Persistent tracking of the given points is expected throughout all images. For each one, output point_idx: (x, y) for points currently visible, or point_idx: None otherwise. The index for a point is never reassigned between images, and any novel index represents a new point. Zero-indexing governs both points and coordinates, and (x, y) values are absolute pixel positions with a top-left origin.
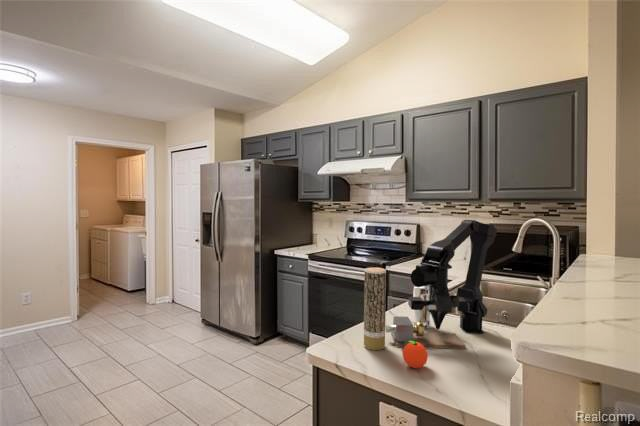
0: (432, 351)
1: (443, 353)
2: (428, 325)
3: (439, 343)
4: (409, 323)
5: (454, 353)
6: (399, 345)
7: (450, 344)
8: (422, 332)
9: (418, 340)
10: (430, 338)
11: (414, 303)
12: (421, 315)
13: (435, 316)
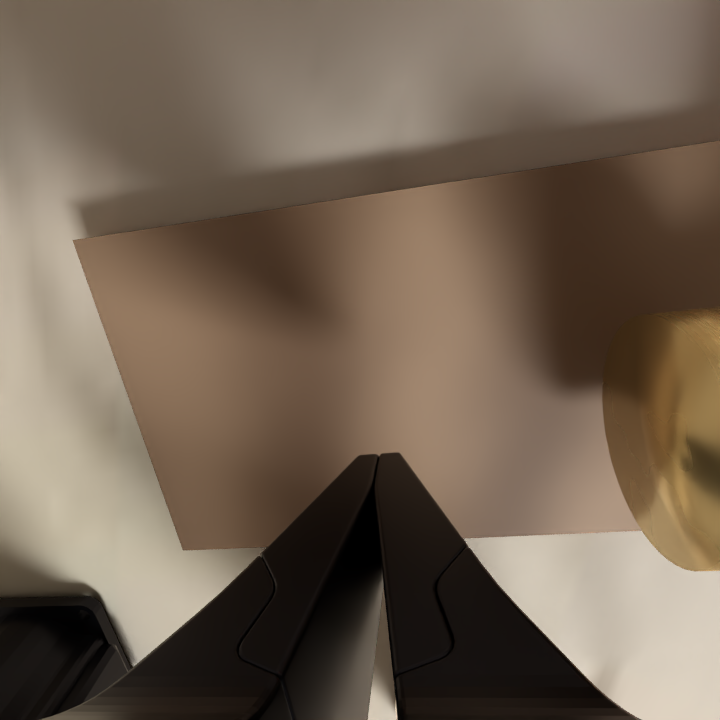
0: (517, 43)
1: (373, 6)
2: None
3: (390, 239)
4: None
5: (228, 47)
6: None
7: (250, 235)
8: (690, 311)
9: (668, 291)
10: (478, 380)
11: None
12: None
13: (469, 640)
